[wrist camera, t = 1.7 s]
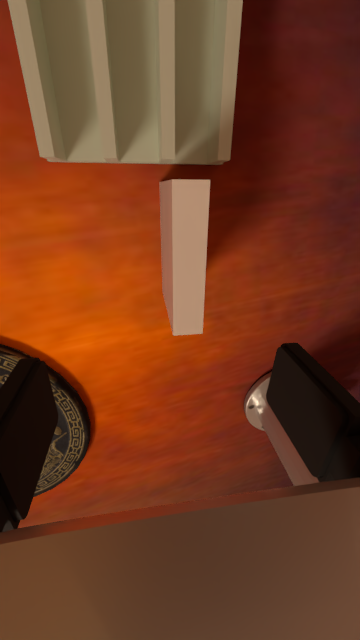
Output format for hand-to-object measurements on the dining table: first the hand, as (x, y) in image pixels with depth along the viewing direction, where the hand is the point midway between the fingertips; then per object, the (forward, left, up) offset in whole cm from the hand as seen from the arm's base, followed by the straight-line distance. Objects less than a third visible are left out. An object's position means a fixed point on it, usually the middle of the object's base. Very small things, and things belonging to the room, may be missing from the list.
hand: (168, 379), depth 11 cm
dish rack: (0, -16, -19) cm, 25 cm away
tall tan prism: (-3, -2, -19) cm, 20 cm away
